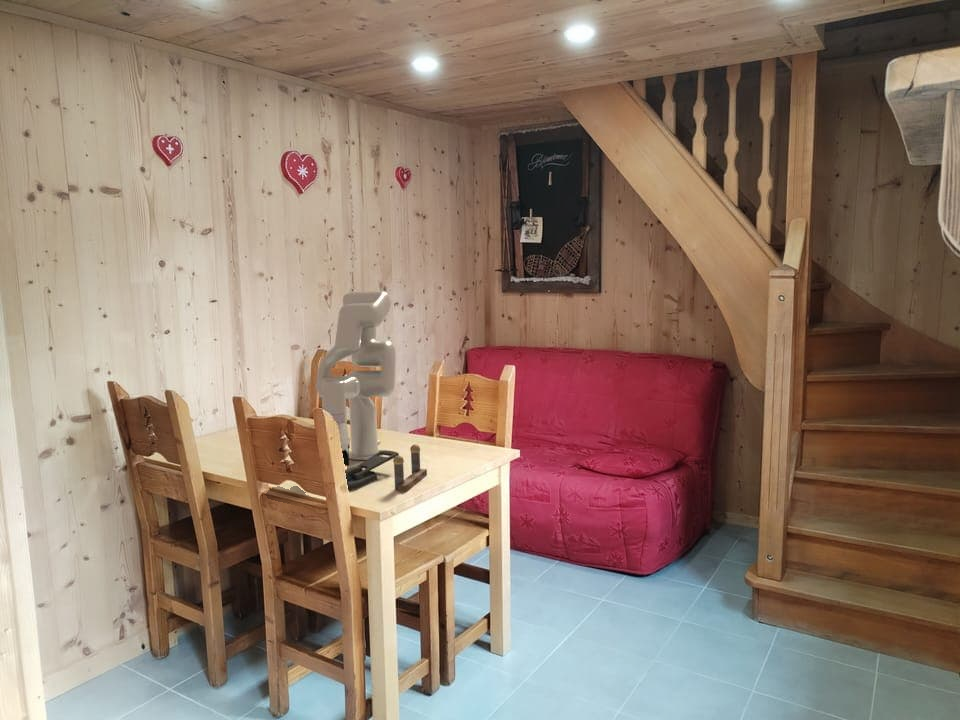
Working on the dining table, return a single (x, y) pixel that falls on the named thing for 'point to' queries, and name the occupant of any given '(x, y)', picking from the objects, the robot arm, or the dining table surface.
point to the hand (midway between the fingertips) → (337, 469)
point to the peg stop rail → (416, 474)
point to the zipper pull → (367, 470)
